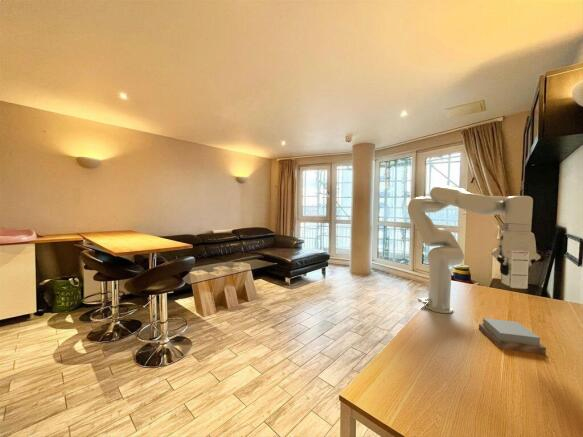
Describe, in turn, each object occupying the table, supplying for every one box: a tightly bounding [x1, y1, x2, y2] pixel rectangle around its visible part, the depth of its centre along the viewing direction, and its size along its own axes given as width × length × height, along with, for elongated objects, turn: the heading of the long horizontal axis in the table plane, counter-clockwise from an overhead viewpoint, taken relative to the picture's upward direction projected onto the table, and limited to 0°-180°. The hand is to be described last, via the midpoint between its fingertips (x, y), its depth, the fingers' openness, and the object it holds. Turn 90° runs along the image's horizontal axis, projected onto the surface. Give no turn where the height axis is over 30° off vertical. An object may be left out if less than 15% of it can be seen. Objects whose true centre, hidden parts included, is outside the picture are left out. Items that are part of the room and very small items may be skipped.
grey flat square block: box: [478, 323, 547, 355], centre depth 92 cm, size 14×14×3 cm
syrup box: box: [500, 250, 529, 290], centre depth 90 cm, size 6×6×14 cm
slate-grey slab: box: [482, 317, 541, 346], centre depth 92 cm, size 12×12×3 cm
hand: (514, 274), depth 91 cm, fingers closed on syrup box, 5 cm apart
